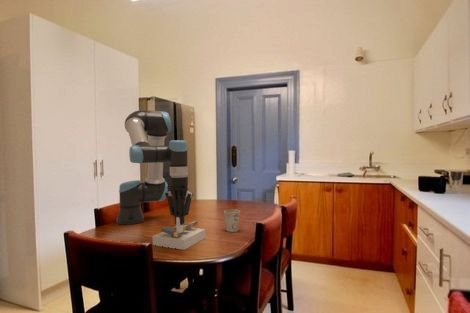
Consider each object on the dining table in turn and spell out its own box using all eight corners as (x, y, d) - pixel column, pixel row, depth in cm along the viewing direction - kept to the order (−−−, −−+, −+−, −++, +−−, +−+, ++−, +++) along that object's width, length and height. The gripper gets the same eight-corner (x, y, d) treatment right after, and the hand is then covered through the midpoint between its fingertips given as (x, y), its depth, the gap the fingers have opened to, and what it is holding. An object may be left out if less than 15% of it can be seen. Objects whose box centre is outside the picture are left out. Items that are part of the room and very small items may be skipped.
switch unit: (152, 245, 127) (152, 233, 127) (176, 234, 144) (176, 224, 143) (184, 249, 121) (184, 237, 121) (205, 237, 137) (205, 227, 137)
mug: (228, 233, 144) (228, 213, 144) (218, 227, 155) (218, 208, 155) (243, 231, 148) (243, 211, 148) (232, 225, 159) (232, 207, 159)
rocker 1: (160, 231, 126) (160, 228, 126) (166, 228, 130) (166, 225, 130) (177, 237, 123) (178, 234, 123) (183, 234, 127) (183, 231, 127)
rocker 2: (169, 232, 132) (168, 228, 132) (174, 229, 136) (174, 226, 136) (186, 229, 128) (185, 226, 128) (191, 227, 132) (190, 224, 132)
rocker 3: (177, 228, 137) (176, 225, 137) (182, 226, 141) (181, 223, 141) (193, 226, 134) (192, 223, 134) (197, 224, 138) (197, 221, 138)
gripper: (160, 177, 124) (161, 232, 124) (187, 177, 119) (188, 235, 119) (171, 175, 131) (172, 228, 131) (196, 176, 126) (197, 231, 126)
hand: (179, 232), depth 125 cm, fingers closed
